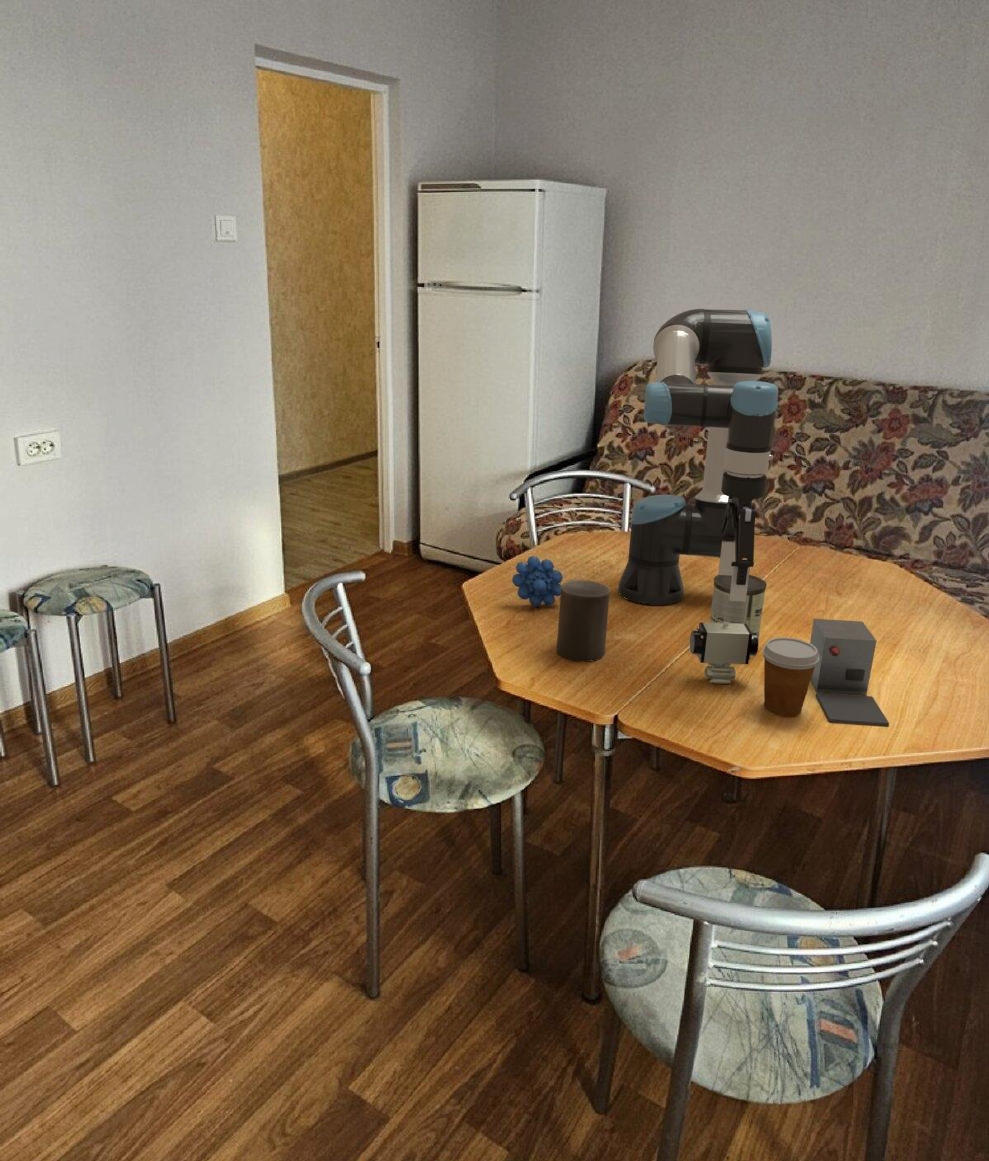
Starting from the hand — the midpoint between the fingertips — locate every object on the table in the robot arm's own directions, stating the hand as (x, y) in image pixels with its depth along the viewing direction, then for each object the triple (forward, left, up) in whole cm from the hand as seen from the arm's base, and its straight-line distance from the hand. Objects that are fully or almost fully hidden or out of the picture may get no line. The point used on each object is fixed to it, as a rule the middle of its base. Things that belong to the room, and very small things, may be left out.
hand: (731, 587), depth 165 cm
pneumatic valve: (0, 0, -19) cm, 19 cm away
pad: (+22, -9, -19) cm, 30 cm away
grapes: (-36, +31, -19) cm, 51 cm away
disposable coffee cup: (+10, -10, -19) cm, 24 cm away
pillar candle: (-26, +9, -19) cm, 34 cm away
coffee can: (+5, +17, -19) cm, 26 cm away
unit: (+22, +2, -19) cm, 29 cm away
